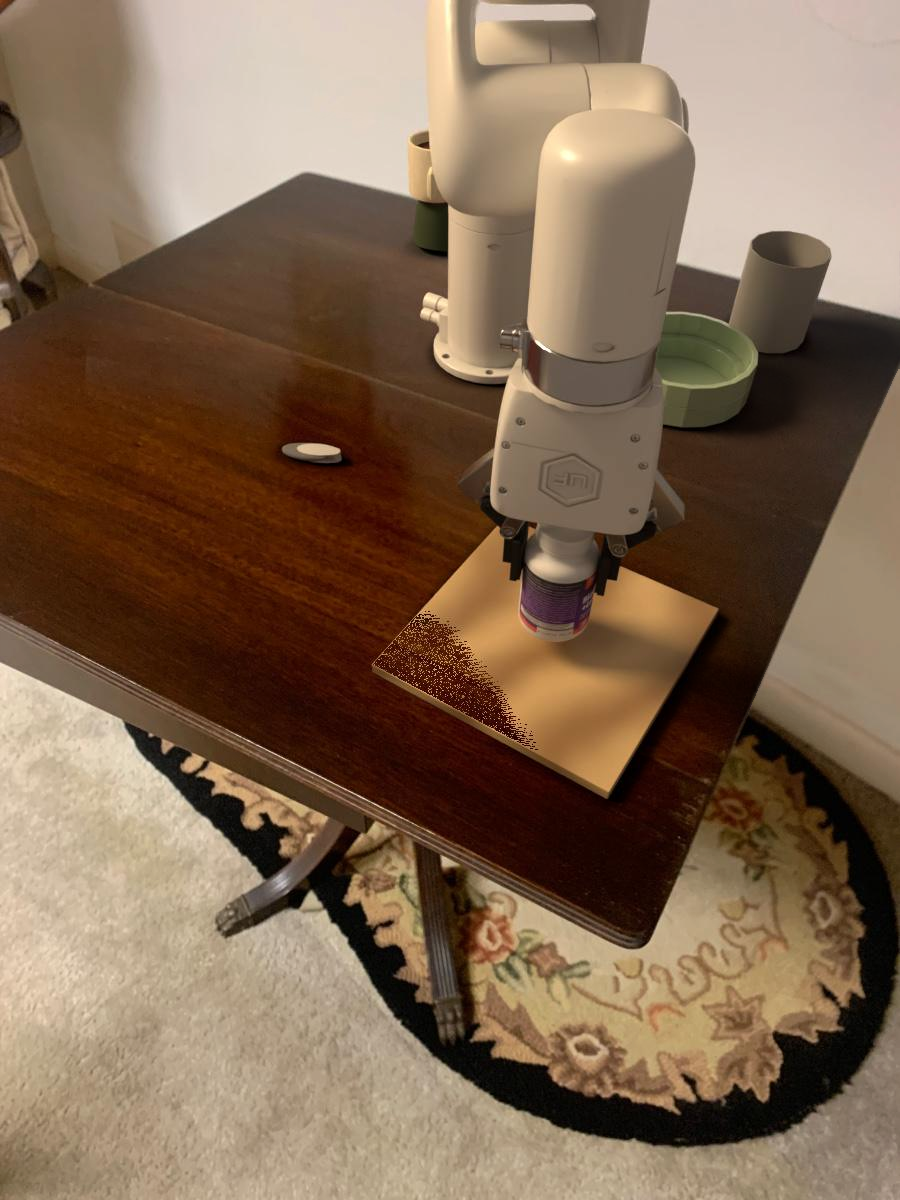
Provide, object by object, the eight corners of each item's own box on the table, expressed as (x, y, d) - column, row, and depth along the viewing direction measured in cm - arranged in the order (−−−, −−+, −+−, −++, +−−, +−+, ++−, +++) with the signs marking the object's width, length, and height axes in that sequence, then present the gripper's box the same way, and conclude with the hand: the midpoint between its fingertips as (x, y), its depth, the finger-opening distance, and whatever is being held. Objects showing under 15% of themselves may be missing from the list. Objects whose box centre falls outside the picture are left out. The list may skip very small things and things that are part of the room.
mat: (372, 672, 68) (371, 664, 67) (505, 524, 79) (505, 515, 78) (607, 799, 61) (609, 792, 60) (716, 616, 72) (719, 608, 71)
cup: (804, 357, 98) (834, 271, 90) (728, 348, 99) (751, 263, 91) (800, 318, 103) (827, 234, 96) (728, 310, 104) (750, 227, 97)
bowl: (585, 400, 92) (592, 358, 88) (643, 339, 100) (651, 298, 96) (715, 447, 87) (727, 405, 83) (764, 378, 95) (777, 337, 91)
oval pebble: (278, 460, 86) (276, 451, 85) (289, 445, 87) (286, 435, 86) (336, 469, 84) (334, 459, 83) (346, 453, 85) (344, 444, 85)
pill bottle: (591, 645, 66) (610, 551, 58) (519, 643, 66) (528, 550, 59) (585, 591, 69) (601, 497, 62) (516, 590, 69) (525, 496, 62)
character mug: (459, 267, 111) (461, 159, 101) (403, 263, 112) (400, 155, 102) (469, 228, 118) (471, 124, 109) (416, 224, 119) (414, 120, 109)
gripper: (429, 371, 50) (431, 591, 63) (742, 414, 47) (675, 634, 60) (458, 304, 54) (455, 522, 68) (743, 340, 52) (681, 558, 65)
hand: (559, 573), depth 64 cm, fingers closed on pill bottle, 5 cm apart
